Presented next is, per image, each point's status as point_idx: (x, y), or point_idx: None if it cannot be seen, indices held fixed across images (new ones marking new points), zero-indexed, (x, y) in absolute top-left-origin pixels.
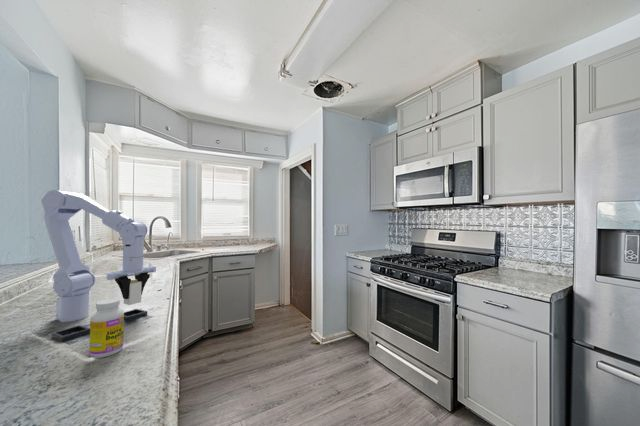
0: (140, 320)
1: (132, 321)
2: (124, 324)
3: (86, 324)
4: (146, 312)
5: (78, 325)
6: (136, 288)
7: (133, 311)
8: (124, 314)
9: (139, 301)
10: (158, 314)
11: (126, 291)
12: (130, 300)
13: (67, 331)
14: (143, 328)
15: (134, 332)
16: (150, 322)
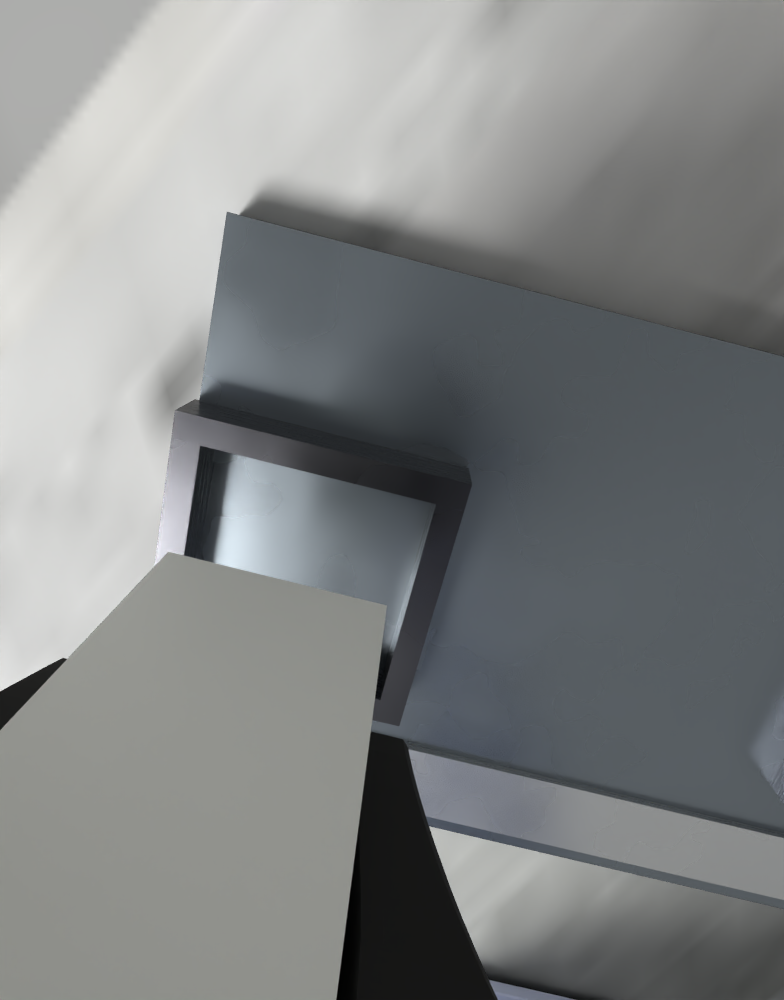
0: (415, 289)
1: (472, 379)
2: (590, 392)
3: (656, 826)
4: (196, 408)
5: (688, 875)
6: (133, 820)
7: None
8: None
9: (196, 568)
10: (69, 316)
11: (435, 890)
12: (366, 651)
13: None
14: (600, 20)
15: (759, 24)
16: (366, 139)
